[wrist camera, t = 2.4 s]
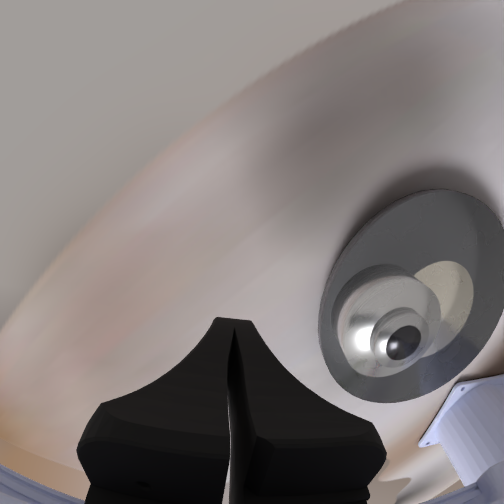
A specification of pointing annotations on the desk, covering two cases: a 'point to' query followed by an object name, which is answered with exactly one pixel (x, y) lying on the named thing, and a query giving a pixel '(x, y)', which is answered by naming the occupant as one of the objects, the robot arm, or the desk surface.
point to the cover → (385, 320)
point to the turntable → (434, 277)
